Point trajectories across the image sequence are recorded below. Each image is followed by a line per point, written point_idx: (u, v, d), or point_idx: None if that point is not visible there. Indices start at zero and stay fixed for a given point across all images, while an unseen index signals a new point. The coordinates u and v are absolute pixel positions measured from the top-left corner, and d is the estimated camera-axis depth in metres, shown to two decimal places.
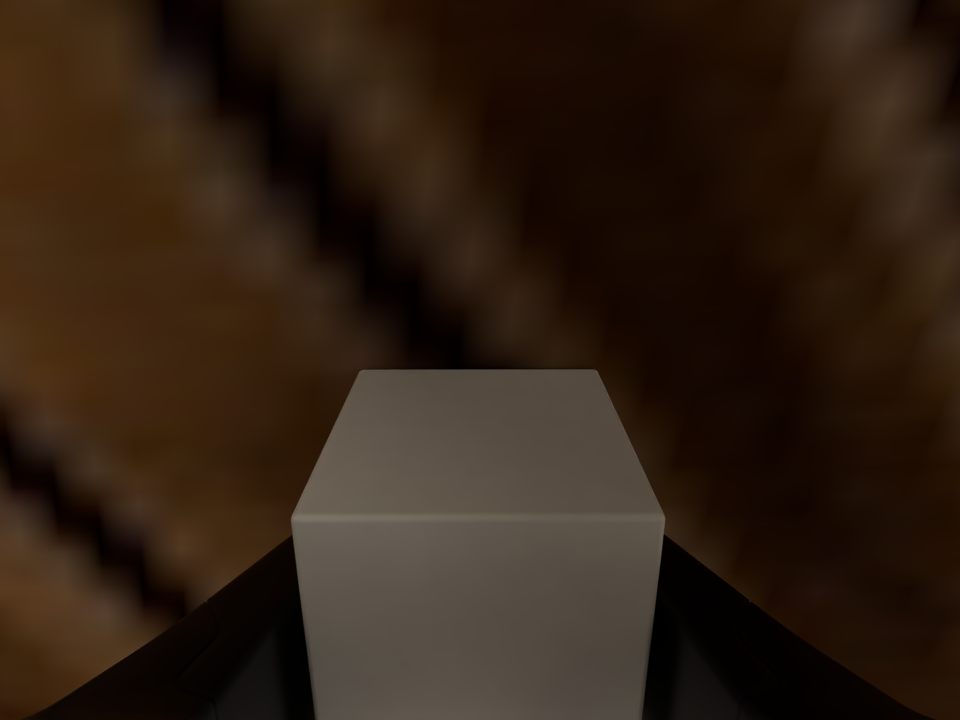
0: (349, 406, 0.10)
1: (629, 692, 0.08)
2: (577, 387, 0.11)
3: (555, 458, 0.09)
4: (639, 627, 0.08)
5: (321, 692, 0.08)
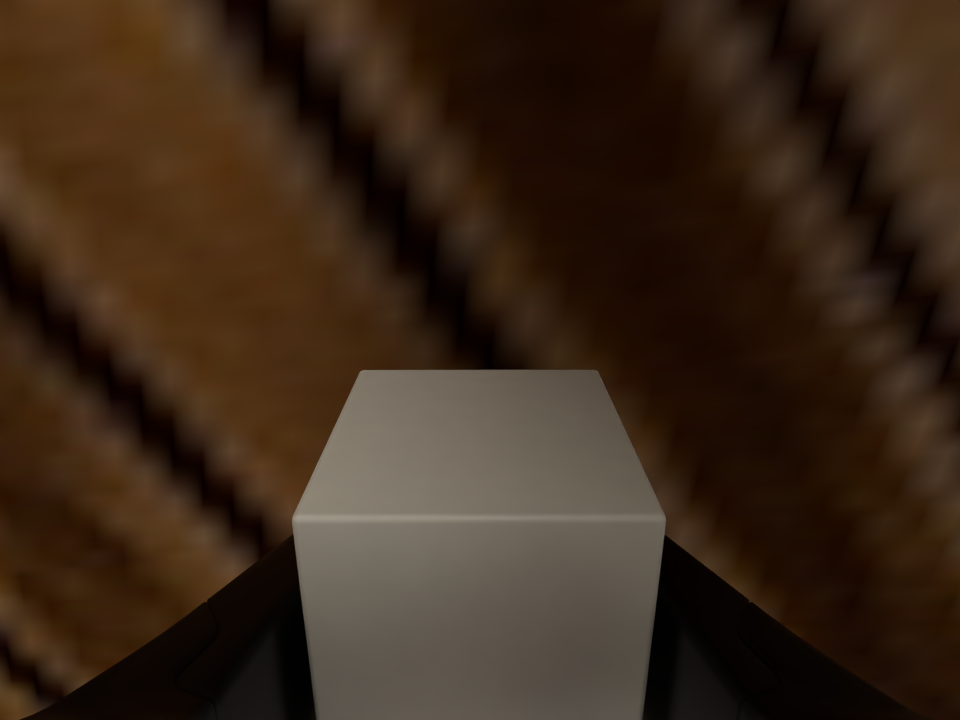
0: (350, 407, 0.10)
1: (630, 692, 0.08)
2: (577, 388, 0.11)
3: (555, 458, 0.09)
4: (640, 627, 0.08)
5: (322, 692, 0.08)
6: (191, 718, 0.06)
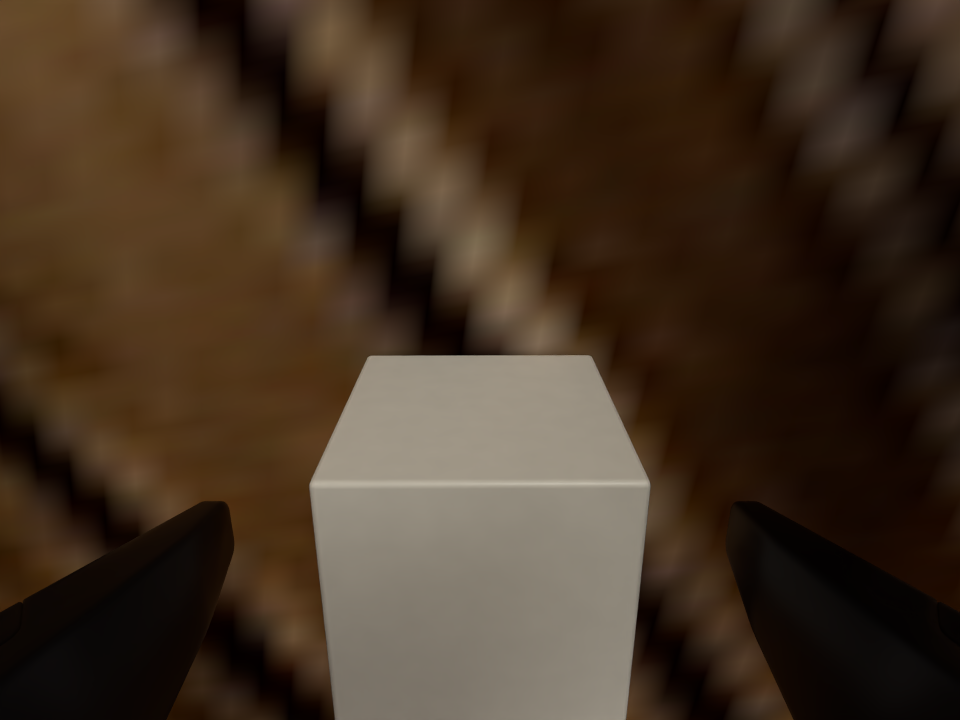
0: (359, 388, 0.11)
1: (619, 646, 0.09)
2: (572, 371, 0.11)
3: (551, 433, 0.09)
4: (627, 586, 0.09)
5: (335, 646, 0.09)
6: None
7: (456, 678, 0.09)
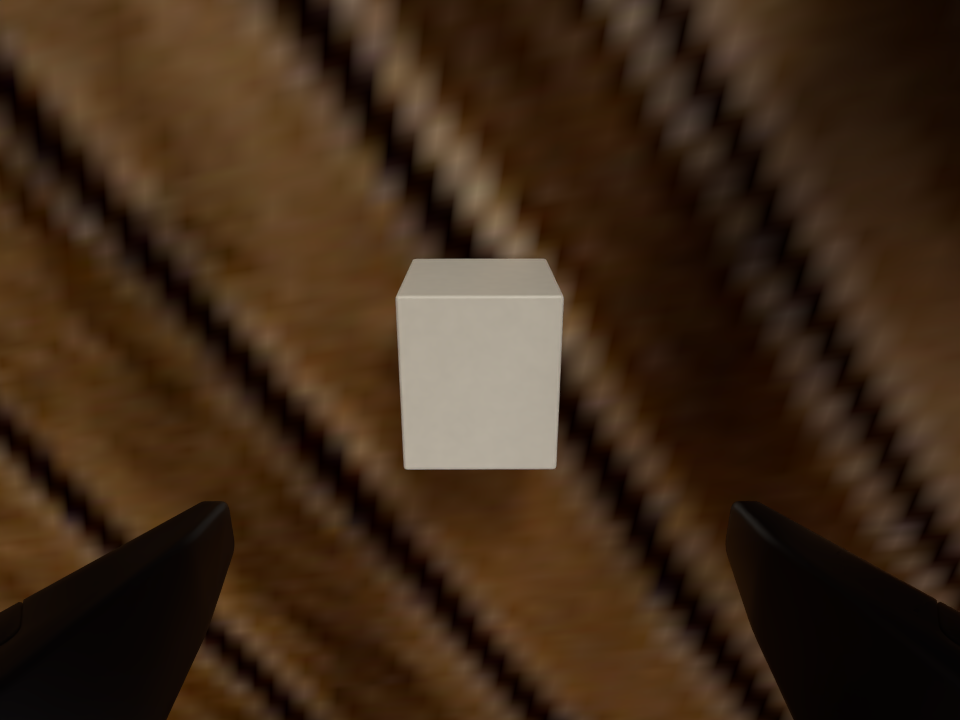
0: (411, 270, 0.19)
1: (551, 390, 0.17)
2: (533, 264, 0.20)
3: (517, 282, 0.18)
4: (554, 354, 0.17)
5: (405, 390, 0.17)
6: None
7: (467, 410, 0.17)
